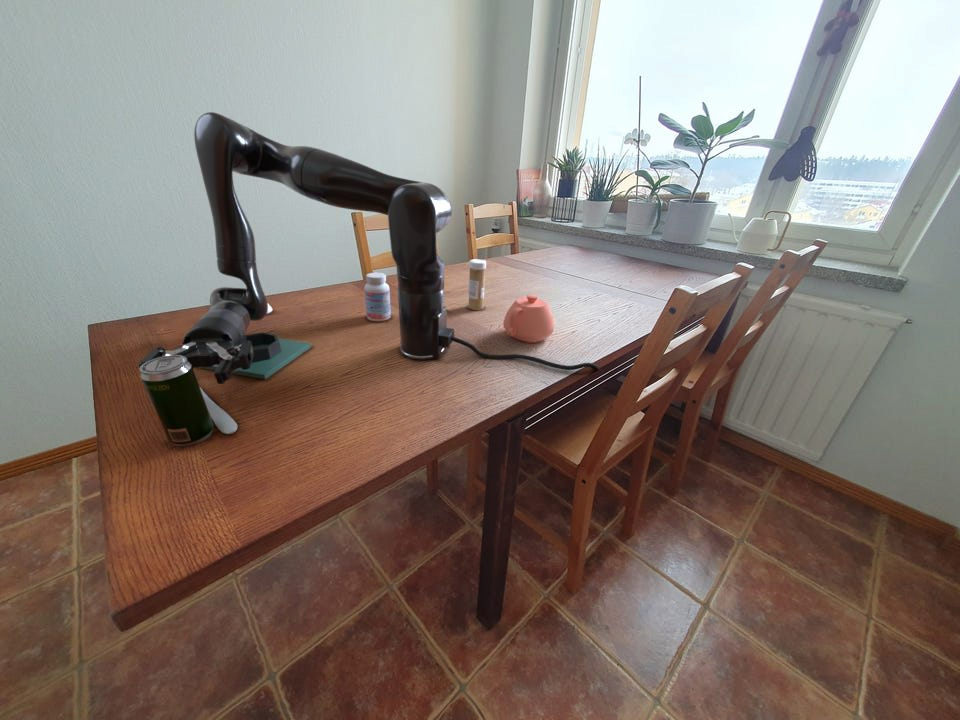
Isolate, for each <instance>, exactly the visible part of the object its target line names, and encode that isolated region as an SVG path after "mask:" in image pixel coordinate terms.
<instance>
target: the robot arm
mask: <svg viewBox="0 0 960 720" xmlns="http://www.w3.org/2000/svg"><path fill="white" fill-rule="evenodd" d="M193 131H194V132H193V136H194V137H193V139H194V145H195V146H194V147H195V152H196V157H197V160H198V164H199V168H200V173H201V176H202V180H203V181H202V182H203V184H204V189H205V192H206V193H205V194H206V196H207V200H208V204H209V208H210V212H211V217H212V223H213V230H214V231H213V232H214V239H215V241H214V242H215V253H216V254H215V255H216V265H217V266H216V267H217V270H218V272H219V273H220V274H222V275H224V276H228V277H232V278H236V279H239V280H240V281H242V282H243V284H244V285H245V287H232V286H231V287H230V286H223V287H221V286H220V287H217V288H215V289H213V290H212V291H211V293H210V296H209V310H208V311H207V312H206V313H205V314H202V316H201V317H199V319H198V320H197V321H196V322H194V324H193V325H192V326H191V328H190V329H189V330H188V331H187V332H186V333H185V335H184V338H183V340H182V344H181V345H180V346H178V347H176V348H174V350H166V349H165V347H164V346H156V347H154V348H153V349H152V350H151V351H150V352H148V353H147V354H146V355H145V356H144V357H143V358H142V359H140V361H138V362H137V365H138V368H140V367H141V366H142V365H143V364H144V363H146V362H148V361H150V360H152V359H155V358H159V357H163V356H169V355H181V356H184V357H186V358H187V360H188V362H189V363H190V364H191V365H192V367H193V369H197V368H200V367H212V366H213V365H214V366H217V368H216V370H214V377H215V380H216V383H217V384H218V385H224V384H225V383H226V381H229V380H230V379H231V377H232V375H234V374H233V372H235V371H237V369H238V368H242V369H243V370H246V369H249V368H250V366H251V363H252V360H253V357H254V351H253V347H252V343H251V341H244V342H243V343H242V344H241V342H242V340H243V338H244V336H245V335H246V332H247V329H248V328H249V326H250V324H251V322H259V321H261V320H263V319H264V318H265V317H266V316H267V311H268V304H269V303H268V301H267V297H266V294H265V292H264V290H263V287H262V284H261V281H260V278H259V274H258V267H257V253H256V251H257V250H256V241H255V234H254V231H253V228H252V226H251V224H250V221H249V220H248V217H247V216H246V214H245V211H244V209H243V208H242V205H241V203H240V200H239V198H238V195H237V193H236V189H235V184H234V177H233V175H234V174H233V173H235V174H239V175H243V176H247V177H253V178H254V177H255V178H260V179H264V180H269V181H273V182H276V183H280V184H282V185H284V186H286V187H287V188H289V189H290V190H292V191H294V192H296V193H297V194H298V195H301V196H303V197H305V198H308V199H310V200H313V201H316V202H319V203H321V204H324V205H327V206H330V207H335V208H339V209H346V210H353V211H360V212H369V213H370V212H371V213H377V214H381V215H385V216H387V222H388V223H387V224H388V233H389V242H390V250H391V251H390V252H391V256H392V259H393V261H394V264H395V266H396V278H397V279H396V280H397V282H396V283H397V301H398V320H399V322H398V323H399V335H400V336H399V339H400V341H399V342H400V347H399V349H400V353H401V354H402V356H404V357H406V358H408V359H411V360H418V361H425V360H426V361H427V360H439V359H440V358H441V356H442V355H443V354H444V352H445V350H446V349H447V348H449V347H450V346H451V344H452V343H453V342H455V343H457V344H459V345H462V346H464V347H467V348H468V349H470V350H472V351H473V353H475V354H476V355H477V356H479V357H481V358H485V359H489V360H490V359H492V360H507V359H508V360H510V359H518V360H525V361H526V360H527V361H531V362H535V363H537V364H541V365H543V366H547V367H550V368H554V369H558V370H563V371H574V370H579V369H584V368H592V369H593V370H594V371H596V372H600V371H601V369H600V367H598V365H596V363H593V362H582V363H578V364H574V365H566V364H559V363H555V362H551V361H549V360H545V359H542V358H539V357H535V356H532V355H526V354H519V353H508V354H491V353H490V354H489V353H485V352H483V351H481V350H479V349H478V348H477V347H476V346H475V345H474V344H472V343H470V342H468V341H466V340H464V339H461V338H459V337H456V336H455V328H450V327H447V325H448V321H447V320H448V319H447V318H448V309H447V307H446V306H445V261H444V258H443V257H441V256H440V255H439V253H438V250H437V249H438V247H437V246H438V245H437V234H438V233H439V232H441V231H442V230H443V229H445V227H446V226H448V224H449V223H450V221H451V218H452V213H453V209H452V204H451V201H450V199H449V197H448V195H447V194H446V193H445V192H444V191H443V190H442V189H441V188H440V187H438V186H437V185H435V184H433V183H430V182H423V181H418V180H412V179H407V178H402V177H398V176H394V175H390V174H387V173H384V172H382V171H379V170H376V169H374V168H372V167H370V166H367V165H365V164H362V163H359V162H357V161H355V160H352V159H349V158H347V157H344V156H341V155H339V154H336V153H333V152H330V151H328V150H327V151H326V150H323V149H321V148H317V147H313V146H307V145H294V146H293V145H286V144H283V143H280V142H277V141H275V140H273V139H271V138H270V137H269V138H268V137H267V136H265V135H263V134H261V133H258V132H257V131H256V130H253V129H252V128H251V127H247V126H245V125H244V124H242V123H240V122H238V121H236V120H234V119H231V118H230V117H228V116H225V115H223V114H220V113H218V112H214V111H210V112H205V113H203V114H202V115H200V116H199V117H198V118H197V120H196V122H195V125H194V130H193ZM267 303H268V304H267ZM240 344H241V345H240ZM236 353H238V357H235V358H233V356H235V354H236Z"/></svg>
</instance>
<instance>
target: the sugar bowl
mask: <svg viewBox="0 0 960 720" xmlns="http://www.w3.org/2000/svg"><path fill="white" fill-rule="evenodd" d="M502 325H503V329H504V331H506V334H507V335H508V336H509V337H512V338H514V339H516V340H518V341H522V342H525V343H527V344H533V343H534V342H541V341H544V340H546V339H547V338H549V337H550V336H551V335H552V334H553V333H554V330H555V319H554V315H553V313H552V310H551V307H550V306H549V303H547V302H546V301H545V300H544V299H541V298H538V296H537V295H536V294H527V295H526V296H523V297H519V298H517V299H516V300H515V301H514V302H513V303H512V304H511V306H510V307H509V308H508V310H507V311H506V313H505V316H504V319H503V324H502Z"/></svg>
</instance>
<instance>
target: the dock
mask: <svg viewBox="0 0 960 720" xmlns="http://www.w3.org/2000/svg"><path fill="white" fill-rule="evenodd" d="M244 341H251V343H252V347H253V351H254V357H253V360H252V363H251V366H250V368H249V369H246V370H243V369H242V368H238V369H237V371H235V372H233V374H232V375H238V376H243V377H249V378H256V379H261V380H267V379H269V378H270V377H271V376H272V375H274V374H276V373H277V372H278V371H280V370H281V369H282V368H284V367H285V366H287V365H288V364H289V363H291V362H292V361H294V360H295V359H297V358H298V357H300V356H301V355H303V354H304V353H305V352H307V351H308V350H310V349H311V348H312V343H311V342H305V341H301V340H293V339H287V338H281V337H278V335H277V334H274V333H270V332H257V333H249V334H244V338H243V340H242V342H241V344H242V343H243V342H244ZM241 344H240V345H241ZM235 357H238V353H236V354H235V356H233V358H235ZM199 368H201V369H205V370H209V371H210V370H211V371H215V370H216V368H217V366H214V365H213V366H212V367H199Z"/></svg>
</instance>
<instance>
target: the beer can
mask: <svg viewBox="0 0 960 720" xmlns="http://www.w3.org/2000/svg"><path fill="white" fill-rule="evenodd" d="M139 372H140V375H139V377H140V379H141V381H142V384H143V386H144V388H145V391H146V393H147V396H148V398H149V399H150V402H151V404H152V406H153V408H154V410H155V413H156V415H157V417H158V420H159V422H160V425H161V427H162V428H163V431H164V433H165V435H166V437H167V440H168V441H169V442H170V443H171V444H172V445H174V446H176V447H181V448H184V447H191V446H195V445H197V444H200V443H202V442H204V441H205V440H207V439H209V438H210V437H211V435H212V434H213V431H214V421H213V420H212V418H211V416H210V414H209V411H208V409H207V406H206V403H205V400H204V398H203V395H202V392H201V389H202V388H201V386H200V384H199V382H198V379H197V376H196V374H195V370H194V368H193V367H192V365H191V364H190V363H189V362H188V360H187V358H186V357H184V356H181V355H169V356H163V357H159V358H155V359H152V360H150V361H148V362H146V363H144V364H143V365H142V366H141V367H139ZM199 386H200V387H199ZM200 388H201V389H200Z"/></svg>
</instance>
